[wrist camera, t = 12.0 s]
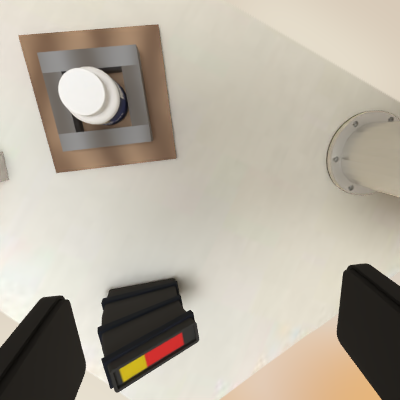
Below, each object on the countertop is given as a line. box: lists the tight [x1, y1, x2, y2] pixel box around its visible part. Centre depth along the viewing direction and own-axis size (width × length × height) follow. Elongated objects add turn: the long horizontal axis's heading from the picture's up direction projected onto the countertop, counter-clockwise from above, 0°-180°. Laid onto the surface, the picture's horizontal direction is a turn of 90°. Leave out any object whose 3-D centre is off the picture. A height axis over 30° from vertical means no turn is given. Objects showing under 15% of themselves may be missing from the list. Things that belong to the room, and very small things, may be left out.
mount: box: [18, 25, 176, 173], centre depth 30 cm, size 16×16×4 cm
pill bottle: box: [58, 67, 129, 125], centre depth 27 cm, size 5×5×10 cm
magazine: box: [98, 279, 199, 392], centre depth 35 cm, size 4×13×15 cm, turn 97°
